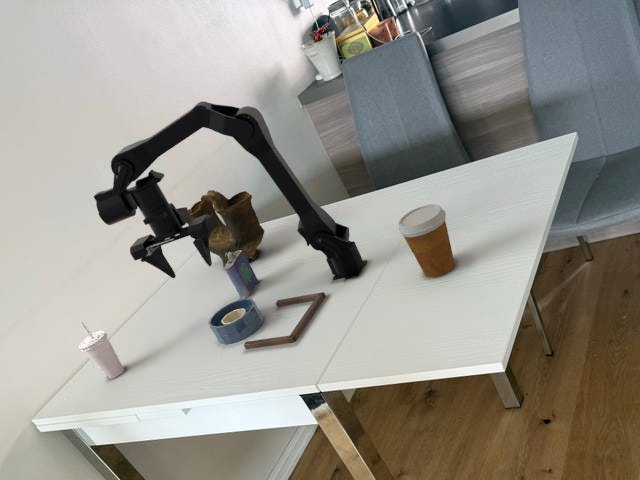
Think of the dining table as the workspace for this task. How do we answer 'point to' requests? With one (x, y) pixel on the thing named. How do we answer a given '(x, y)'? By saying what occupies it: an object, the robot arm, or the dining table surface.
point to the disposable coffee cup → (428, 239)
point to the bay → (317, 300)
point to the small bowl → (233, 316)
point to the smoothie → (101, 352)
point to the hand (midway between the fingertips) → (192, 271)
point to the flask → (241, 273)
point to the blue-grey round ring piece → (240, 326)
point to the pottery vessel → (230, 224)
